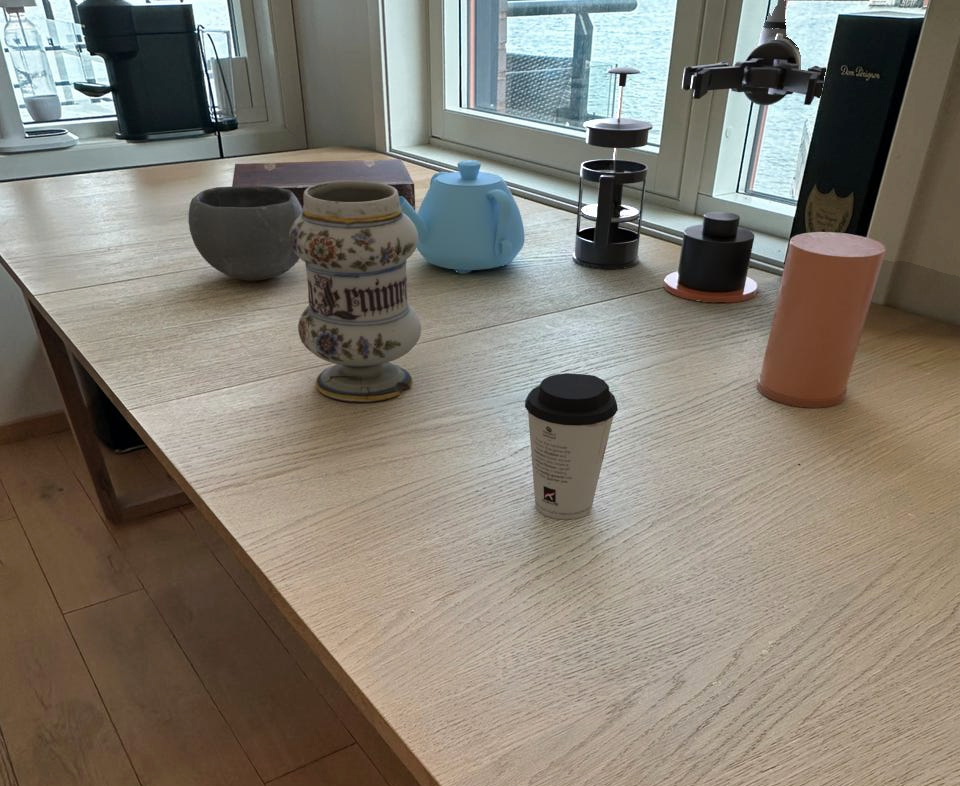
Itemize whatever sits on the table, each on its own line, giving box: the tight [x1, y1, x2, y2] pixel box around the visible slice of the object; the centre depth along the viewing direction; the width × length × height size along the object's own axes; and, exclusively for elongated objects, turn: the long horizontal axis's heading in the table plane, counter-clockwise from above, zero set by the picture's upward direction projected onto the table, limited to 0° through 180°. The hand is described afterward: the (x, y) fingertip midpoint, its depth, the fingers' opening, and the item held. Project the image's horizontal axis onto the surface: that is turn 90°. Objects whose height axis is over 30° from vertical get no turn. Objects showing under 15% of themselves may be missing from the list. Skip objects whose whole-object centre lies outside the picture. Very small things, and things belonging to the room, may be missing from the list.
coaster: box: [663, 270, 759, 304], centre depth 113 cm, size 12×12×1 cm
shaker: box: [756, 231, 887, 409], centre depth 83 cm, size 9×9×14 cm
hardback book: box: [231, 158, 416, 211], centre depth 145 cm, size 29×19×5 cm, turn 101°
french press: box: [572, 66, 654, 270], centre depth 115 cm, size 12×9×23 cm
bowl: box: [188, 185, 302, 282], centre depth 112 cm, size 15×15×10 cm
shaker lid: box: [677, 211, 755, 293], centre depth 110 cm, size 9×9×8 cm
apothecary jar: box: [289, 180, 422, 403], centre depth 82 cm, size 12×12×18 cm
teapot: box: [399, 160, 525, 274], centre depth 116 cm, size 20×20×13 cm
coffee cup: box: [524, 372, 619, 520], centre depth 66 cm, size 7×7×10 cm
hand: (752, 89), depth 106 cm, fingers open, 13 cm apart
